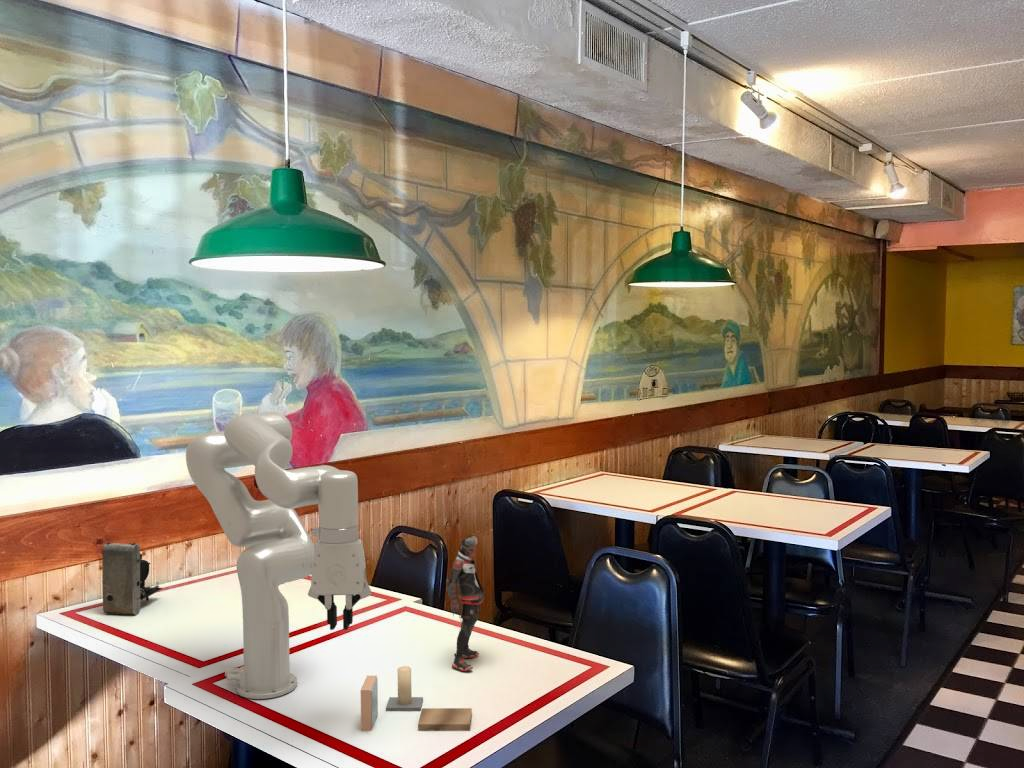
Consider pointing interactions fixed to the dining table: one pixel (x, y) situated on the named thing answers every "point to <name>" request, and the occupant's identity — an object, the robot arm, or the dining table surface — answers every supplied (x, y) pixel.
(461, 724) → the board
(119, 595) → the vintage camera
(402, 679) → the float
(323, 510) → the robot arm
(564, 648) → the dining table surface
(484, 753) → the dining table surface
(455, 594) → the action figure
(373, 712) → the tile
